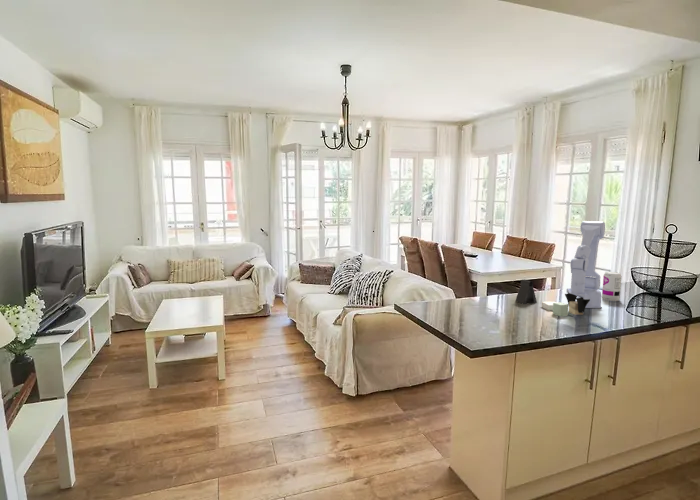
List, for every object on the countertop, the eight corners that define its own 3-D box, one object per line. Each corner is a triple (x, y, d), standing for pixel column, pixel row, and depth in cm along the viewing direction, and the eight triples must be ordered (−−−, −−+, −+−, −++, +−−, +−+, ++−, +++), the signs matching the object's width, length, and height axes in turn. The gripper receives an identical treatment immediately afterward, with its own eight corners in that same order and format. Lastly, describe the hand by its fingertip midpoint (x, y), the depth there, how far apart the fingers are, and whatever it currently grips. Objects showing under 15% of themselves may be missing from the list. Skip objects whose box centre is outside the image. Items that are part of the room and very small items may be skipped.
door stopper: (528, 300, 216) (529, 278, 214) (536, 302, 210) (538, 280, 209) (515, 301, 213) (516, 279, 212) (523, 304, 207) (524, 282, 206)
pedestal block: (555, 307, 202) (555, 301, 202) (562, 310, 195) (562, 305, 195) (541, 307, 202) (541, 301, 202) (548, 311, 195) (548, 305, 195)
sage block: (560, 313, 191) (560, 302, 190) (567, 315, 186) (568, 304, 186) (552, 313, 189) (553, 302, 189) (560, 316, 185) (560, 305, 184)
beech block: (577, 312, 192) (578, 301, 192) (583, 314, 188) (584, 303, 187) (568, 312, 192) (569, 301, 192) (574, 314, 188) (574, 303, 187)
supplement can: (604, 300, 213) (606, 273, 211) (599, 297, 221) (601, 271, 219) (621, 302, 211) (624, 274, 209) (616, 298, 219) (618, 272, 217)
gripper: (561, 280, 195) (559, 306, 197) (579, 286, 181) (577, 314, 183) (575, 279, 196) (573, 306, 197) (593, 286, 181) (591, 314, 183)
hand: (576, 310), depth 190 cm, fingers open, 7 cm apart
